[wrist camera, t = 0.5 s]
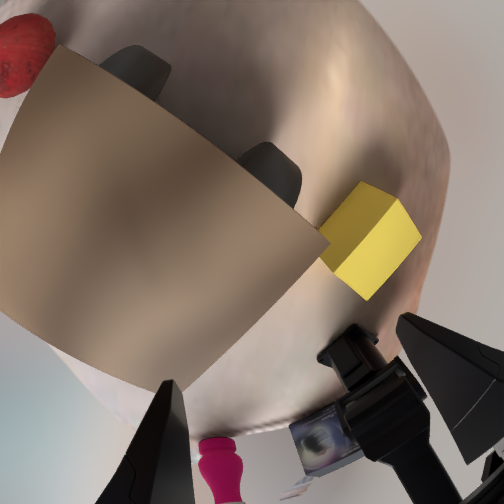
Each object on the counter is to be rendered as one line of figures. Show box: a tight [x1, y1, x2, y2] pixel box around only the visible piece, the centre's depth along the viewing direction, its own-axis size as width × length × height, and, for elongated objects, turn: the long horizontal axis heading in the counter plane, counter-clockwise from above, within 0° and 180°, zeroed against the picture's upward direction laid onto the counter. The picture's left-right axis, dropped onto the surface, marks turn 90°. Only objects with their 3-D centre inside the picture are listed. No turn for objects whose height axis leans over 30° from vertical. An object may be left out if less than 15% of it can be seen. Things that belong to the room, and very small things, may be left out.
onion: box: [0, 13, 55, 98], centre depth 7 cm, size 6×6×8 cm
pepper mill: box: [198, 437, 245, 504], centre depth 29 cm, size 7×7×20 cm
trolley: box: [0, 44, 331, 393], centre depth 14 cm, size 13×16×10 cm
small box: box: [289, 403, 365, 477], centre depth 35 cm, size 11×6×10 cm, turn 123°
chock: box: [318, 181, 422, 301], centre depth 21 cm, size 5×7×5 cm
